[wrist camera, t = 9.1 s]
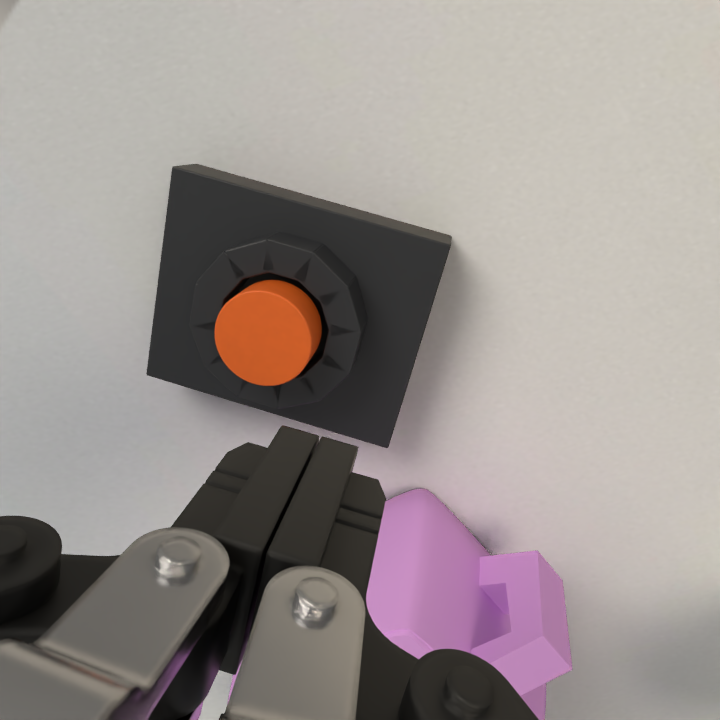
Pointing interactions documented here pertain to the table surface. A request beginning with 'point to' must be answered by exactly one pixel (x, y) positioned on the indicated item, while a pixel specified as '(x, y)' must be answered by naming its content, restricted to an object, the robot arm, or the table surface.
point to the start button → (268, 332)
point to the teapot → (466, 597)
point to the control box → (310, 274)
